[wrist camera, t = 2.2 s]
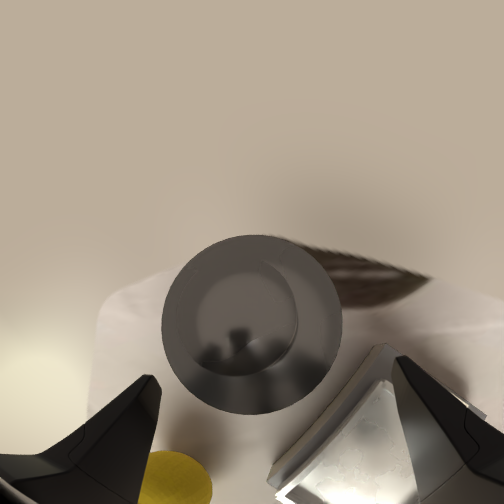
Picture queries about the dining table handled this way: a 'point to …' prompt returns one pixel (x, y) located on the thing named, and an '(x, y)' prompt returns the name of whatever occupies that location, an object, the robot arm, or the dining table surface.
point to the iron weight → (251, 324)
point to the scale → (354, 445)
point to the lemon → (174, 480)
